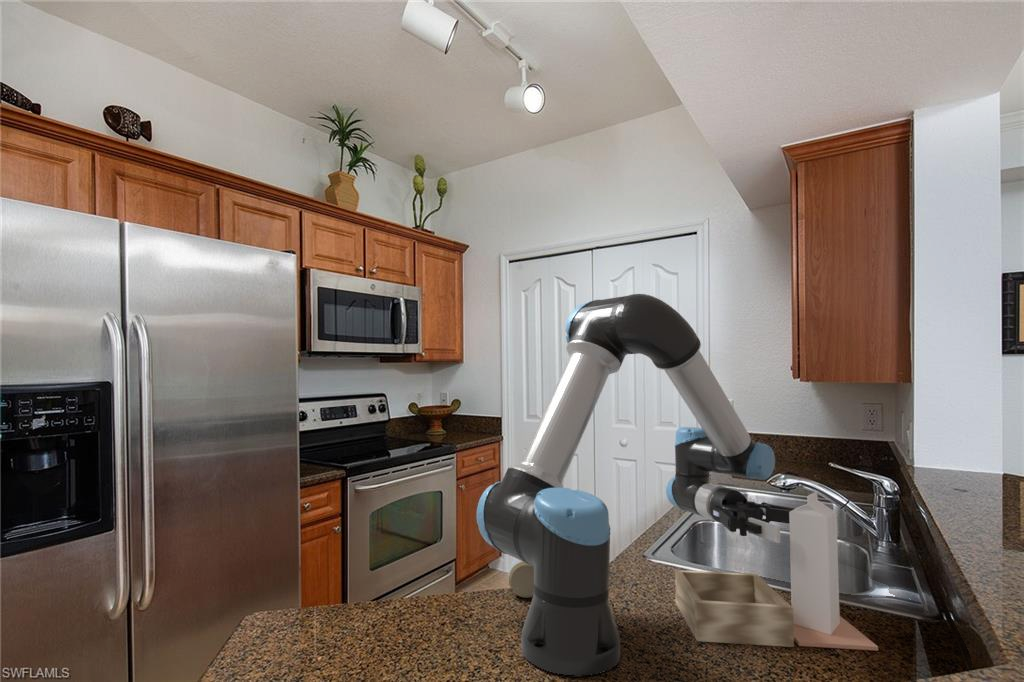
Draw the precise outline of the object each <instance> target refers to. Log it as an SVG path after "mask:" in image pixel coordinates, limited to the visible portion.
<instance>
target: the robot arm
mask: <svg viewBox="0 0 1024 682" xmlns="http://www.w3.org/2000/svg"><path fill="white" fill-rule="evenodd" d="M565 324H566V325H565V331H564V332H565V333H566V334H567V335H565V339H566V343H567V344H566V346H565V348H566V352H567V354H568V356H569V358H568V360H567V362H566V364H565V366H564V368H563V370H562V372H561V375H560V376H559V379H558V381H557V383H556V384H555V387H554V390H553V391H552V393H551V396H550V398H549V400H548V403H547V405H546V406H545V409H544V411H543V412H542V415H541V417H540V418H539V421H538V423H537V425H536V427H535V430H534V432H533V434H532V435H531V438H530V440H529V443H528V444H527V447H526V449H525V451H524V452H523V455H522V457H521V459H520V461H519V462H518V463H515V464H513V465H510V466H509V467H507V468H506V472H505V474H504V476H503V478H502V480H501V481H496V482H495V483H493V484H491V485H489V486H488V487H487V488H485V490H484V491H483V492H482V494H481V496H480V498H479V499H478V504H477V507H476V523H477V525H478V530H479V533H480V535H481V536H482V538H483V540H485V542H486V543H487V544H489V545H490V546H491V547H493V548H494V549H495V550H497V551H498V552H500V553H501V554H504V555H508V556H511V557H512V556H513V557H515V558H517V559H519V560H521V561H523V562H525V563H527V564H530V565H532V566H534V593H533V597H532V598H531V602H530V605H529V609H528V610H527V614H526V617H525V620H524V623H523V625H522V626H523V627H522V629H521V639H520V640H521V643H520V649H521V653H522V655H523V656H524V658H525V659H526V660H527V662H529V663H530V662H531V663H530V664H531V665H533V664H534V665H533V666H535V665H536V666H537V667H536V666H535V667H536V668H538V667H539V668H538V669H540V668H541V670H543V669H544V670H543V671H545V670H546V671H545V672H548V671H549V672H548V673H551V672H553V673H552V674H555V673H558V674H557V675H559V674H565V675H574V676H573V677H583V676H582V675H591V674H596V673H600V672H603V671H606V672H608V671H610V670H611V669H610V668H612V667H613V668H614V667H615V666H617V665H618V663H619V661H620V658H621V638H620V634H619V631H618V628H617V627H618V626H617V624H616V620H615V617H614V615H613V611H612V607H611V604H610V598H609V597H610V592H609V591H610V587H609V586H610V557H611V556H610V553H611V552H610V550H611V549H610V546H611V545H610V544H611V541H610V540H611V525H610V521H609V520H610V518H609V509H608V507H607V505H606V503H605V502H604V501H603V500H602V499H601V498H599V497H598V496H596V495H594V494H592V493H589V492H588V491H587V492H586V491H583V490H579V489H571V488H568V487H564V486H563V482H564V479H565V477H566V475H567V473H568V470H569V468H570V465H571V463H572V461H573V459H574V456H575V454H576V451H577V450H578V447H579V444H580V442H581V440H582V438H583V435H584V433H585V431H586V428H587V426H588V424H589V421H590V419H591V417H592V414H593V413H594V410H595V408H596V405H597V403H598V401H599V398H600V396H601V393H602V392H603V388H604V387H605V384H606V382H607V380H608V378H609V376H610V375H611V374H612V375H613V374H615V373H618V372H619V371H620V369H621V367H622V365H623V362H624V360H625V357H626V356H627V355H637V354H640V355H643V356H646V357H648V358H649V359H650V360H651V361H652V363H653V365H654V366H655V367H656V368H657V369H658V370H664V371H665V373H666V375H667V377H668V378H669V379H670V381H671V383H672V385H673V386H674V387H675V388H676V391H677V392H678V394H679V395H680V397H681V398H682V399H683V401H684V403H685V404H686V405H687V407H688V409H689V410H690V411H691V414H692V415H693V417H694V418H695V420H696V421H697V423H698V424H699V426H700V427H693V426H692V427H691V426H690V427H689V426H687V427H686V426H684V427H683V426H682V427H678V429H677V428H676V431H675V444H674V453H675V455H674V457H675V475H674V476H673V477H671V478H670V479H669V481H668V483H667V486H666V487H665V488H666V489H665V494H666V497H667V501H668V502H669V503H670V504H671V505H673V506H675V507H677V508H679V509H681V510H682V511H685V512H687V513H691V514H695V515H697V516H701V517H702V518H703V517H704V518H707V519H709V520H710V522H711V523H715V522H716V523H720V524H721V525H723V526H724V528H726V529H727V530H728V531H730V532H732V533H735V532H737V530H738V531H739V536H741V537H747V536H748V534H749V535H750V534H751V535H754V536H756V537H759V538H762V539H763V540H764V539H765V540H767V541H770V542H773V543H774V544H775V543H776V544H779V543H781V526H779V525H777V524H776V525H775V524H772V523H773V522H775V523H782V524H789V525H790V523H789V512H790V511H792V510H794V509H796V508H797V507H796V508H795V507H789V506H784V505H783V506H782V505H777V504H773V503H768V502H765V501H764V502H761V503H756V501H749V500H748V499H747V497H746V496H745V495H744V494H743V493H742V492H741V491H739V490H736V489H732V488H729V487H725V486H722V485H718V484H714V483H710V473H711V472H712V473H718V474H723V475H729V476H733V477H740V478H745V479H748V480H750V479H756V480H767V479H769V478H770V477H771V476H772V474H773V472H774V470H775V466H776V457H775V453H774V450H773V448H772V447H771V445H768V444H767V443H762V442H760V441H757V442H755V441H754V440H753V438H752V436H751V435H750V433H749V431H748V430H747V429H746V427H745V425H744V423H743V422H742V420H741V418H740V417H739V415H738V413H737V411H736V410H735V408H734V406H733V405H732V403H731V402H730V400H729V398H728V397H727V395H726V393H725V392H724V390H723V388H722V386H721V384H720V383H719V381H718V380H717V378H716V376H715V375H714V373H713V371H712V370H711V367H709V364H708V363H707V361H706V360H705V357H704V356H703V354H702V353H701V351H700V349H701V346H702V343H701V340H700V338H699V337H698V335H697V334H696V332H695V330H694V329H693V327H692V326H691V325H690V324H689V322H688V321H687V320H686V318H685V317H684V316H682V315H681V314H680V313H679V312H678V311H677V310H676V309H675V308H673V307H672V306H671V305H670V304H668V303H667V302H665V301H663V300H661V299H660V298H657V297H655V296H653V295H649V294H645V293H633V294H628V295H623V296H618V297H617V296H616V297H610V298H605V299H595V300H594V299H593V300H591V301H588V302H585V303H583V304H580V305H578V306H577V307H575V309H574V310H572V311H571V313H570V314H569V316H568V318H567V320H566V323H565ZM764 517H765V518H764ZM770 522H772V523H770ZM838 526H839V525H838V523H837V538H838V537H839V536H838V535H839V533H838V530H839V529H838ZM613 668H612V669H613ZM609 669H610V670H609ZM607 670H608V671H607ZM603 673H604V672H603ZM600 674H601V673H600ZM565 675H564V676H565ZM578 675H580V676H578ZM591 676H592V675H591Z"/></svg>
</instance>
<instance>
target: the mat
mask: <svg viewBox="0 0 1024 682" xmlns="http://www.w3.org/2000/svg"><path fill="white" fill-rule="evenodd" d="M793 626H794V643H796V644H797V646H799V647H811V648H826V649H827V648H829V649H831V648H832V649H844V650H846V649H847V650H862V651H879V646H878V645H877V644H876V643H874V642H873V641H872V640H870V639H869V637H867V636H865V635H864V634H863V633H862V632H861V631H859V629H857V628H856V627H854V626H853V625H852V624H851V623H850V622H848V620H846V619H845V618H843V617H842V616H841V615H840V624H839V626H838V627H837V628H836V629H835V631H834V632H833V633H832V634H831V635H828V634H825V633H822V632H818V631H815V630H812V629H809V628H805V627H802V626H799V625H796V624H793Z"/></svg>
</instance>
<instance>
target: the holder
mask: <svg viewBox="0 0 1024 682" xmlns="http://www.w3.org/2000/svg"><path fill="white" fill-rule="evenodd" d="M674 571H675V572H674V573H675V575H674V576H675V605H676V606H677V608H678V610H679V611H680V613H681V615H682V617H683V618H684V621H685V623H686V624H687V626H688V627H689V630H690V631H691V633H692V635H693V637H694V638H695V640H696V641H697V642H703V643H705V642H707V643H721V644H723V643H724V644H737V645H738V644H739V645H756V646H768V647H769V646H771V647H772V646H773V647H787V648H788V647H790V648H794V647H795V641H794V626H793V607H792V606H791V603H789V602H788V601H786V599H784V598H783V597H782V596H781V595H780V594H779V593H778V592H777V591H776V590H774V588H772V587H771V585H770V584H768V583H767V582H766V581H765V580H764V579H763V578H762V577H761V576H760V575H759V574H758V573H748V572H747V573H746V572H745V573H744V572H743V573H742V572H725V571H723V572H722V571H704V570H688V569H687V570H684V569H683V570H682V569H675V570H674Z"/></svg>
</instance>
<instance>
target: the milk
mask: <svg viewBox="0 0 1024 682" xmlns="http://www.w3.org/2000/svg"><path fill="white" fill-rule="evenodd" d="M818 499H819V498H818V491H814V492H812V493H810V494H808V495H807V497H806V500H807V501H806V503H805V504H803V505H800V506H798V507H796V509H794V510H792V511H790V512H789V523H790V524H789V554H790V555H789V556H790V557H789V558H790V559H789V560H790V561H789V562H790V565H789V566H790V602H791V603H790V605H791V606H792V607H793V624H796V625H799V626H802V627H805V628H809V629H812V630H815V631H818V632H822V633H825V634H828V635H831V634H832V633H833V632H834V631H835V629H836V628H837V627H838V626H839V624H840V616H841V614H840V586H839V558H838V557H839V555H838V553H839V552H838V537H837V524H838V520H837V512H836V511H835V510H833V509H832V508H830V507H829V506H827V505H826V504H824V503H823V502H821V500H818Z"/></svg>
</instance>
